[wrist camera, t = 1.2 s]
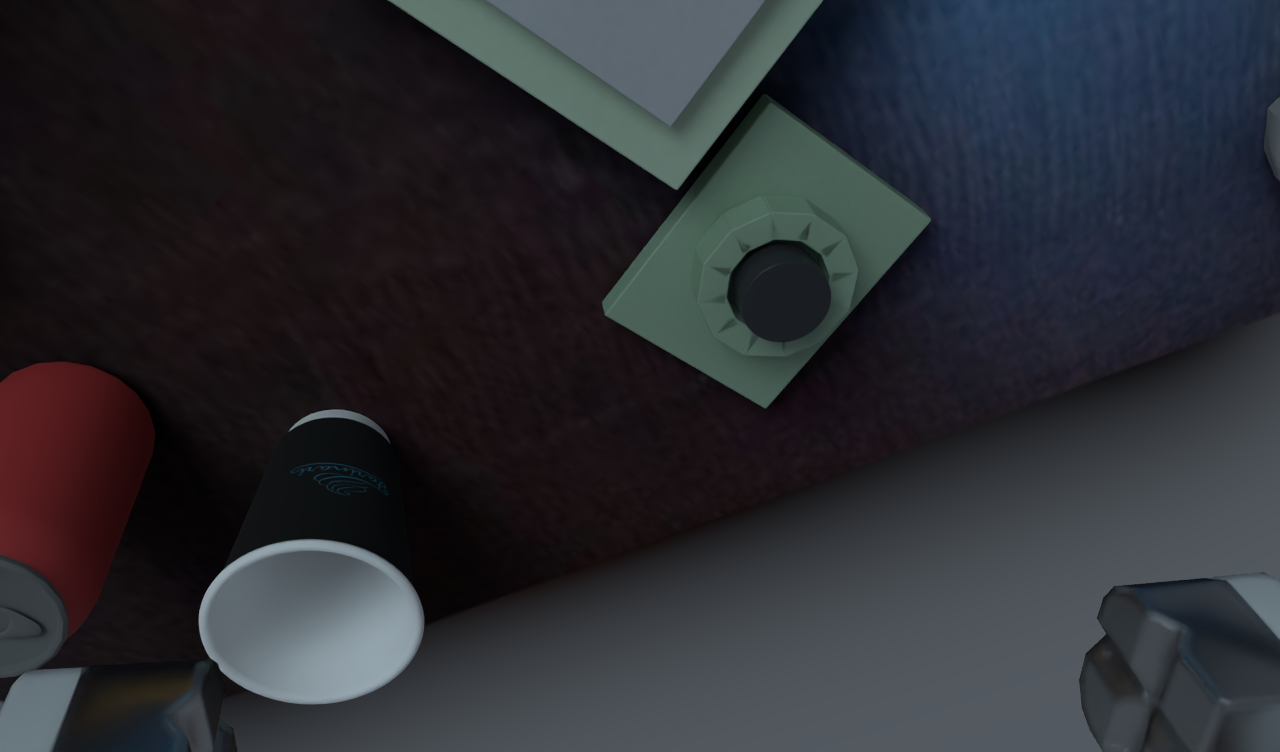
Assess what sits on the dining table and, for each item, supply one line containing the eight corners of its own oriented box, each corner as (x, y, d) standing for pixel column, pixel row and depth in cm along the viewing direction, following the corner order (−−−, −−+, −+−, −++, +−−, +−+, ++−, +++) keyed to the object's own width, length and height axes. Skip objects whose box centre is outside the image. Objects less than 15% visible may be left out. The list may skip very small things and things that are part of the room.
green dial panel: (763, 91, 45) (782, 117, 42) (922, 208, 49) (948, 238, 46) (600, 302, 49) (609, 336, 46) (759, 395, 52) (775, 432, 50)
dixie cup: (291, 545, 53) (258, 730, 44) (211, 410, 49) (156, 584, 40) (453, 494, 53) (455, 670, 44) (388, 355, 49) (374, 516, 39)
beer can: (136, 501, 51) (59, 708, 41) (-25, 458, 48) (-150, 667, 38) (177, 383, 48) (104, 574, 38) (7, 332, 46) (-118, 520, 36)
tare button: (771, 226, 45) (781, 245, 44) (837, 270, 47) (850, 290, 45) (714, 295, 46) (723, 315, 45) (781, 336, 48) (791, 357, 46)
